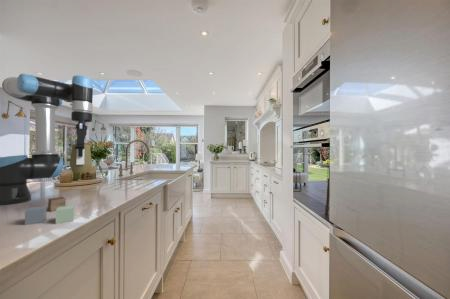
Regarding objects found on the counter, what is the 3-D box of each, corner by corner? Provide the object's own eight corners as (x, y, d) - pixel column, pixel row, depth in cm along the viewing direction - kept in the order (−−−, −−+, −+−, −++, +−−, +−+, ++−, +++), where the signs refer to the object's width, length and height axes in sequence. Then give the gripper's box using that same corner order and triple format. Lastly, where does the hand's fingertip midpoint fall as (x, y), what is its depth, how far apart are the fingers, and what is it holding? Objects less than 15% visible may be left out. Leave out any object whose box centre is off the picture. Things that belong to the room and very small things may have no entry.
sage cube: (57, 220, 79) (58, 207, 79) (74, 218, 81) (74, 205, 81) (55, 224, 74) (55, 210, 74) (72, 221, 77) (73, 208, 77)
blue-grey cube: (28, 221, 77) (28, 207, 77) (46, 218, 80) (46, 205, 80) (24, 225, 73) (25, 211, 73) (43, 222, 76) (43, 209, 76)
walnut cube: (48, 209, 92) (48, 198, 92) (62, 207, 96) (62, 196, 96) (51, 212, 89) (51, 200, 89) (65, 209, 92) (65, 198, 93)
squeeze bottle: (69, 173, 86) (70, 130, 86) (69, 171, 92) (70, 131, 92) (92, 172, 90) (93, 131, 90) (91, 171, 97) (91, 132, 97)
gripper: (73, 114, 98) (72, 162, 98) (68, 107, 80) (67, 165, 80) (92, 116, 102) (91, 162, 102) (91, 109, 84) (90, 165, 84)
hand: (81, 163), depth 91 cm, fingers closed on squeeze bottle, 8 cm apart
